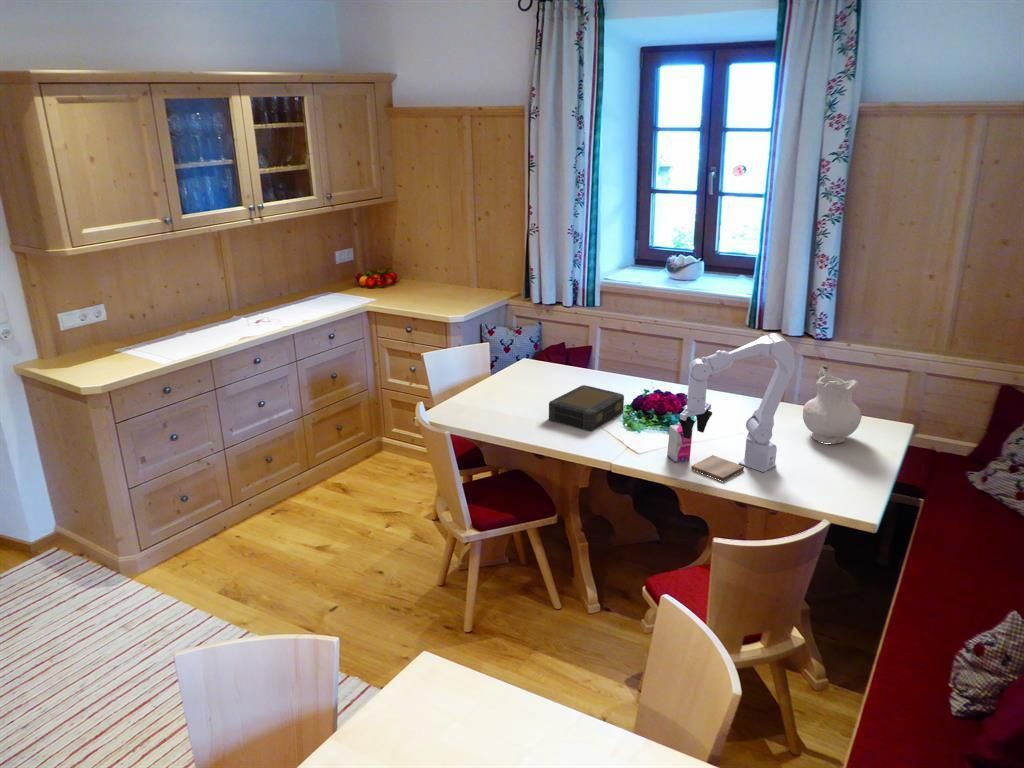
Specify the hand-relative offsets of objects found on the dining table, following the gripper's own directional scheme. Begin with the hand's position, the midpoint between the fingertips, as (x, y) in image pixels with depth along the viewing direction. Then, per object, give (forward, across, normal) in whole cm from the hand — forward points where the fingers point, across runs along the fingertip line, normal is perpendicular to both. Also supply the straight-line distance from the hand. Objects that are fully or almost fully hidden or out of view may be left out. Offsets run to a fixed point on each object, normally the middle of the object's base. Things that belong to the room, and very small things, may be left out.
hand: (693, 434), depth 259 cm
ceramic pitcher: (+11, -54, +20) cm, 58 cm away
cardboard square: (+11, -2, +9) cm, 14 cm away
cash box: (+11, -6, -53) cm, 54 cm away
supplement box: (+11, 0, -5) cm, 12 cm away
